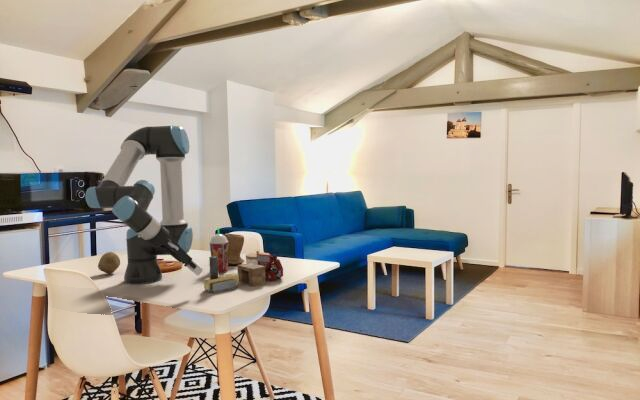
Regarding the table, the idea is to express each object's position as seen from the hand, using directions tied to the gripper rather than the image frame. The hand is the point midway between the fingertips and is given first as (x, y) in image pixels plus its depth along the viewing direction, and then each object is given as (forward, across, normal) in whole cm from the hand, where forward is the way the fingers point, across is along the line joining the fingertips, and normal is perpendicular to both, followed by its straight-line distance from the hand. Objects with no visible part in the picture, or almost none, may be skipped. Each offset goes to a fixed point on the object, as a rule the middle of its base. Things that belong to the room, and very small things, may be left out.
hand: (199, 272), depth 172 cm
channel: (+12, 0, 0) cm, 12 cm away
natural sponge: (-3, -63, -15) cm, 65 cm away
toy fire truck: (+28, 0, +16) cm, 33 cm away
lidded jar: (+32, -16, +20) cm, 41 cm away
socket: (+22, 0, +10) cm, 24 cm away
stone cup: (+32, -42, +21) cm, 57 cm away
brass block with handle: (+11, 0, +2) cm, 11 cm away
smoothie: (+23, -29, +12) cm, 39 cm away
